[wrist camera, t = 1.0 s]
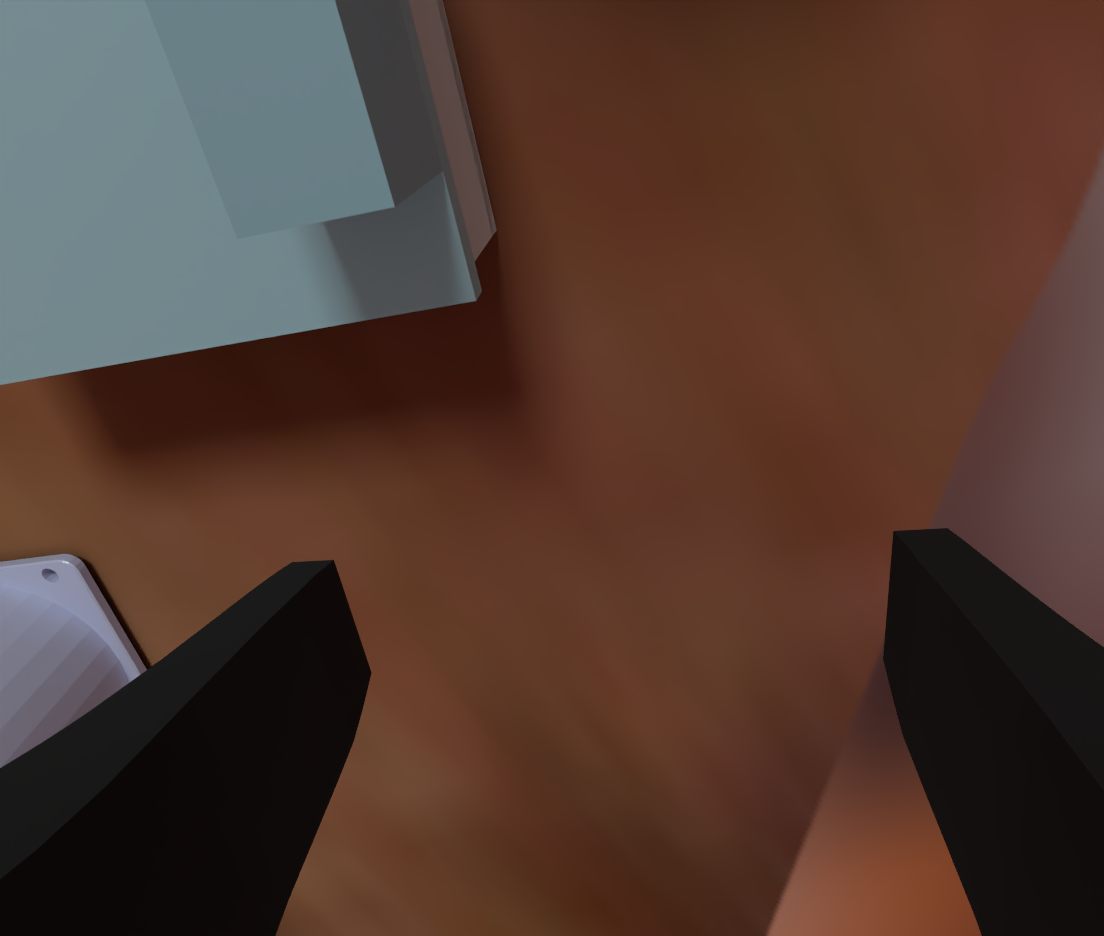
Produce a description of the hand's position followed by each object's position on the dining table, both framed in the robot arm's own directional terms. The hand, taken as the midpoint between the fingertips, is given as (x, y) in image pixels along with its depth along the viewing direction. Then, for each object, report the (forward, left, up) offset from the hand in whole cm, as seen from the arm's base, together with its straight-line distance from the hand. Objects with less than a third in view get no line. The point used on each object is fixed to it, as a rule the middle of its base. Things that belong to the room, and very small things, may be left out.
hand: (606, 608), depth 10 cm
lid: (-9, +7, -7) cm, 13 cm away
